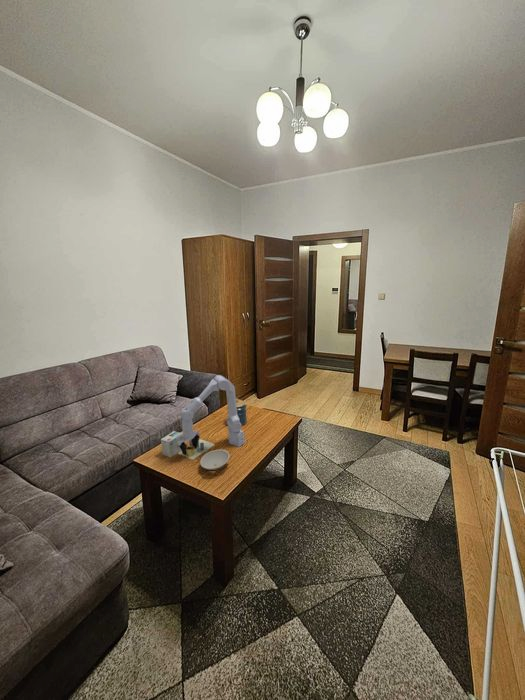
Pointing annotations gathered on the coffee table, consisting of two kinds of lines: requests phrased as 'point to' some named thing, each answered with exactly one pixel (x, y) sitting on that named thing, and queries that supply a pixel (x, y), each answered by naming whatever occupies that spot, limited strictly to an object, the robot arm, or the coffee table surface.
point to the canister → (241, 411)
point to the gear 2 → (190, 451)
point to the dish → (214, 459)
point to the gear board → (200, 449)
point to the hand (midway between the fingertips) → (189, 450)
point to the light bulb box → (171, 444)
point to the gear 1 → (191, 443)
